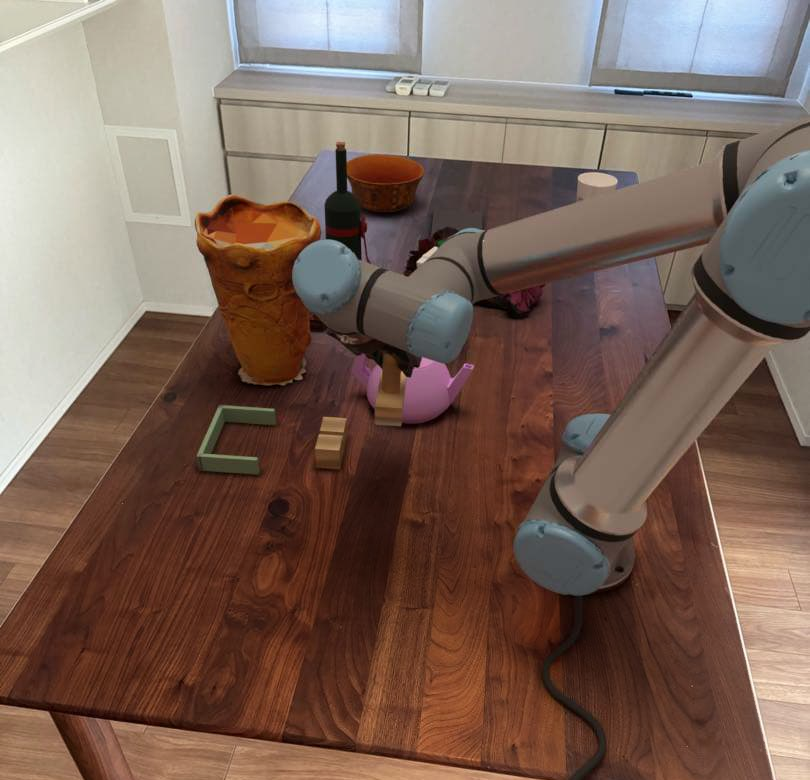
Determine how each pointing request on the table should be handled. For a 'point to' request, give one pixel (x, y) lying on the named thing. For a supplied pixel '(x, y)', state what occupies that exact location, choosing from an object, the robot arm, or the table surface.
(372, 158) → the bowl
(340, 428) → the cube
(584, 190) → the cup
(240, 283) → the vase
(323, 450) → the cube
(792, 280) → the robot arm
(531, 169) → the table surface
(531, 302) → the flower arrangement
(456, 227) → the notebook
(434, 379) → the teapot
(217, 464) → the frame
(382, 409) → the peg on base
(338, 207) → the wine bottle
